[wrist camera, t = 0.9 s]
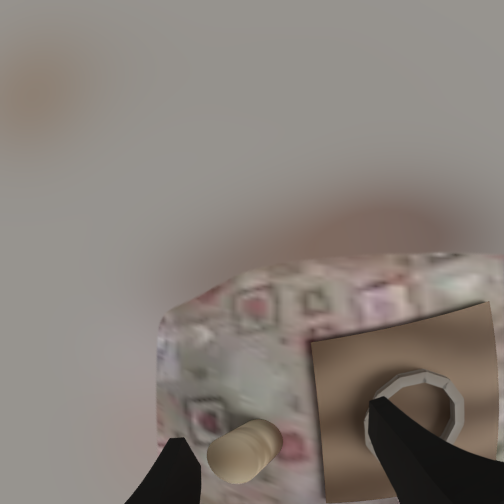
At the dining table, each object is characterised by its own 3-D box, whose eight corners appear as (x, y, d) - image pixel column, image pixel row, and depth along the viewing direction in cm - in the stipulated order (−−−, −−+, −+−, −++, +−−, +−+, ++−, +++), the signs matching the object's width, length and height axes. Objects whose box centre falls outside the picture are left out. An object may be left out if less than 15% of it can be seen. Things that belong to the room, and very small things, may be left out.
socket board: (492, 467, 15) (500, 478, 12) (327, 499, 21) (321, 513, 18) (486, 302, 20) (497, 298, 17) (312, 342, 25) (305, 343, 23)
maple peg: (285, 459, 23) (260, 486, 18) (242, 458, 25) (210, 480, 20) (280, 418, 25) (254, 437, 19) (236, 419, 26) (203, 435, 21)
